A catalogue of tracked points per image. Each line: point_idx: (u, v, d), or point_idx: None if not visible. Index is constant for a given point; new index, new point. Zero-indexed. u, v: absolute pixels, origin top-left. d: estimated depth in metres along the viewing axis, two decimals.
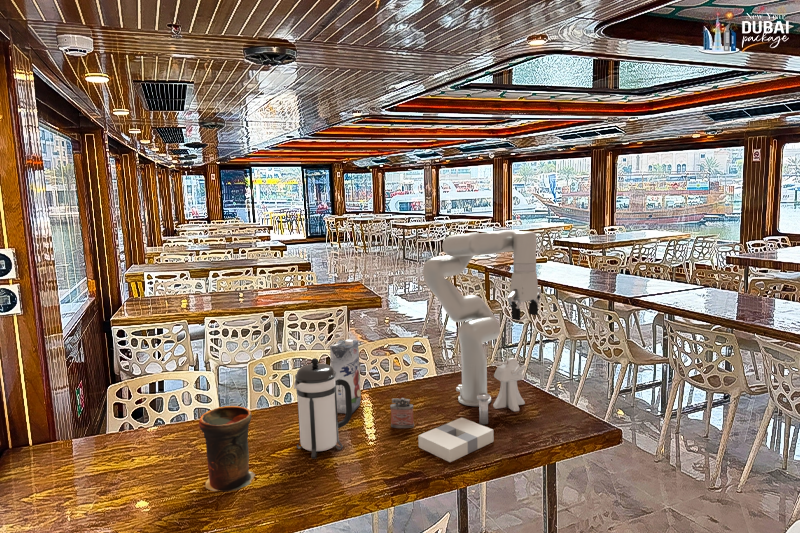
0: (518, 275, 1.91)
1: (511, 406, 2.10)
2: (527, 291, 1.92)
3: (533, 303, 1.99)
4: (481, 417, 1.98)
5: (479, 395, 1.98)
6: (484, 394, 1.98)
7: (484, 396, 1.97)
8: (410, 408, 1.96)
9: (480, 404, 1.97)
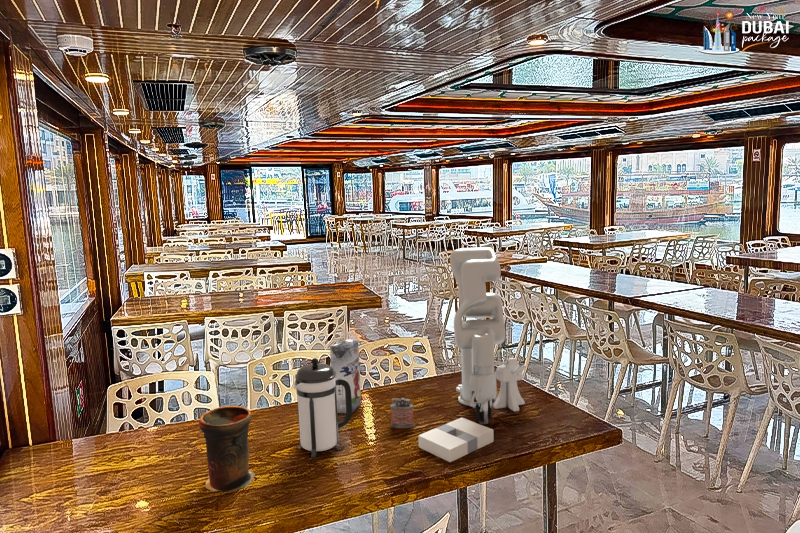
0: (476, 378, 1.93)
1: (511, 406, 2.10)
2: (485, 393, 1.95)
3: None
4: None
5: None
6: None
7: None
8: (410, 408, 1.96)
9: None
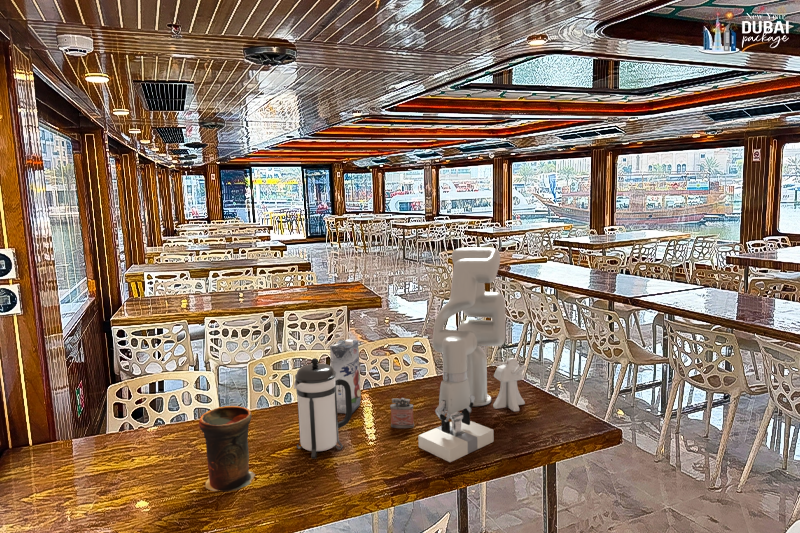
0: (447, 385, 1.77)
1: (511, 406, 2.10)
2: (457, 402, 1.78)
3: (465, 412, 1.84)
4: None
5: (452, 414, 1.82)
6: (457, 413, 1.83)
7: (457, 415, 1.81)
8: (410, 408, 1.96)
9: (453, 424, 1.82)
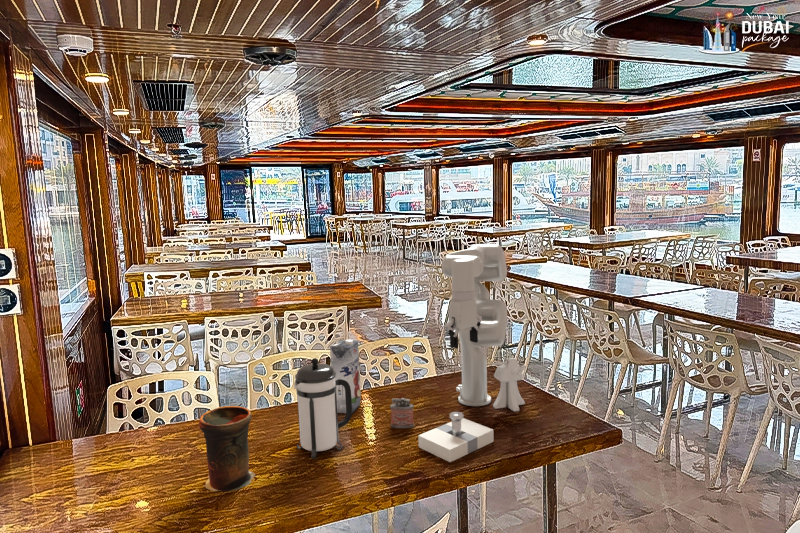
0: (456, 303, 1.89)
1: (511, 406, 2.10)
2: (465, 319, 1.91)
3: (473, 330, 1.97)
4: None
5: (452, 414, 1.82)
6: (457, 413, 1.83)
7: (457, 415, 1.81)
8: (410, 408, 1.96)
9: (453, 424, 1.82)
